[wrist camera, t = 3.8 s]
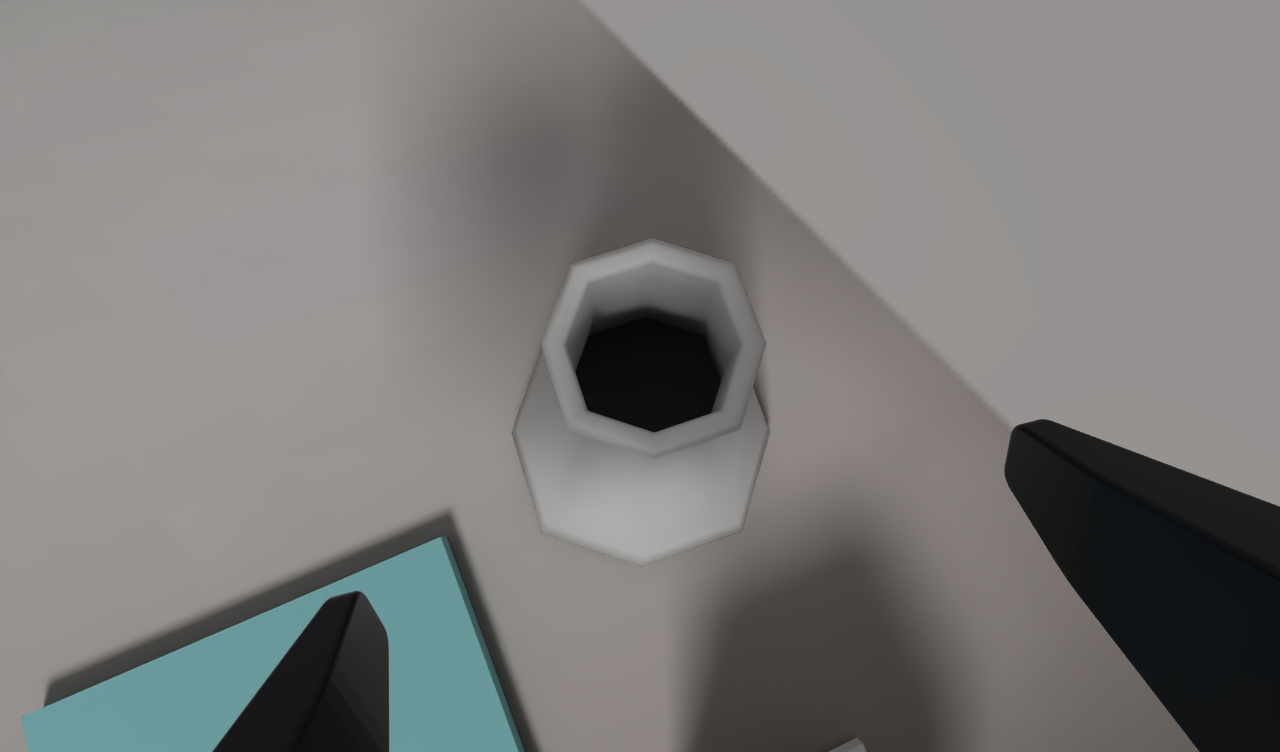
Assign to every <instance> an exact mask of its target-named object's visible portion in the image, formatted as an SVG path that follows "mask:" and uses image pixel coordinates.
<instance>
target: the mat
mask: <svg viewBox="0 0 1280 752" xmlns="http://www.w3.org/2000/svg"><path fill="white" fill-rule="evenodd" d="M353 591H361V592H362V593H364V594H365V595H366V597H367V598H368V600H369V602H370V603H371V605H372V607H373V608H374V610H375V612H376V613H377V615H378V617H379V618H380V620H381V622H382V623H383V625H384V627H385V629H386V632H387V636H388V642H389V752H525V751H524V748H523V745H522V742H521V740H520V737H519V734H518V731H517V729H516V726H515V723H514V720H513V718H512V715H511V712H510V709H509V707H508V704H507V701H506V698H505V696H504V693H503V690H502V687H501V685H500V682H499V679H498V676H497V674H496V671H495V668H494V665H493V663H492V660H491V657H490V654H489V652H488V649H487V646H486V643H485V641H484V638H483V635H482V632H481V630H480V627H479V624H478V621H477V619H476V616H475V613H474V610H473V608H472V605H471V602H470V599H469V597H468V594H467V591H466V589H465V586H464V583H463V580H462V578H461V575H460V572H459V569H458V567H457V564H456V561H455V558H454V556H453V553H452V550H451V547H450V545H449V542H448V539H447V536H444V537H439V538H437V539H434V540H432V541H430V542H427V543H425V544H423V545H420V546H418V547H416V548H413V549H411V550H409V551H406V552H404V553H402V554H399V555H397V556H395V557H392V558H390V559H388V560H385V561H383V562H381V563H378V564H376V565H374V566H371V567H369V568H367V569H364V570H362V571H360V572H357V573H355V574H353V575H350V576H348V577H346V578H343V579H341V580H339V581H337V582H334V583H332V584H330V585H327V586H325V587H323V588H320V589H318V590H316V591H313V592H311V593H309V594H306V595H304V596H302V597H299V598H297V599H295V600H292V601H290V602H288V603H285V604H283V605H281V606H278V607H276V608H274V609H271V610H269V611H267V612H264V613H262V614H260V615H257V616H255V617H253V618H250V619H248V620H246V621H243V622H241V623H239V624H236V625H234V626H232V627H230V628H227V629H225V630H223V631H220V632H218V633H216V634H213V635H211V636H209V637H206V638H204V639H202V640H199V641H197V642H195V643H192V644H190V645H188V646H185V647H183V648H181V649H178V650H176V651H174V652H171V653H169V654H167V655H164V656H162V657H160V658H157V659H155V660H153V661H150V662H148V663H146V664H143V665H141V666H139V667H136V668H134V669H132V670H130V671H127V672H125V673H123V674H120V675H118V676H116V677H113V678H111V679H109V680H106V681H104V682H102V683H99V684H97V685H95V686H92V687H90V688H88V689H85V690H83V691H81V692H78V693H76V694H74V695H71V696H69V697H67V698H64V699H62V700H60V701H57V702H55V703H53V704H50V705H48V706H46V707H43V708H41V709H39V710H36V711H34V712H32V713H29V714H27V715H25V716H23V717H21V720H22V724H23V728H24V733H25V737H26V741H27V746H28V750H29V752H212V751H213V750H214V748H215V747H216V746H217V744H218V743H219V742H220V740H221V739H222V738H223V736H224V735H225V734H226V733H227V731H228V730H229V729H230V727H231V726H232V725H233V723H234V722H235V721H236V719H237V718H238V717H239V715H240V714H241V713H242V711H243V710H244V709H245V707H246V706H247V705H248V703H249V702H250V701H251V699H252V698H253V697H254V695H255V694H256V693H257V691H258V690H259V689H260V687H261V686H262V685H263V683H264V682H265V681H266V679H267V678H268V677H269V675H270V674H271V673H272V671H273V670H274V669H275V667H276V666H277V665H278V663H279V662H280V661H281V659H282V658H283V657H284V655H285V654H286V653H287V651H288V650H289V649H290V647H291V646H292V645H293V643H294V642H295V641H296V639H297V638H298V637H299V635H300V634H301V633H302V631H303V630H304V629H305V627H306V626H307V625H308V623H309V622H310V621H311V619H312V618H313V617H314V615H315V614H316V613H317V611H318V610H319V609H320V607H321V606H322V605H323V604H324V602H325V601H326V600H328V599H329V598H331V597H333V596H337V595H341V594H345V593H349V592H353Z"/></svg>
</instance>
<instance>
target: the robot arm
mask: <svg viewBox="0 0 1280 752" xmlns="http://www.w3.org/2000/svg"><path fill="white" fill-rule="evenodd" d="M1004 471H1005V478H1006V481H1007V484H1008V486H1009V488H1010V489H1011V491H1012V493H1013V494H1014V496H1015V497H1016V499H1017V501H1018V502H1019V504H1020V505H1021V507H1022V509H1023V510H1024V512H1025V513H1026V515H1027V517H1028V518H1029V520H1030V522H1031V523H1032V525H1033V526H1034V528H1035V530H1036V531H1037V533H1038V534H1039V536H1040V538H1041V539H1042V541H1043V542H1044V544H1045V546H1046V547H1047V549H1048V551H1049V552H1050V554H1051V555H1052V557H1053V559H1054V560H1055V562H1056V563H1057V565H1058V566H1059V568H1060V569H1061V571H1062V572H1063V574H1064V575H1065V577H1066V579H1067V580H1068V581H1069V583H1070V584H1071V585H1072V587H1073V588H1074V589H1075V591H1076V592H1077V593H1078V595H1079V596H1080V597H1081V599H1082V600H1083V601H1084V603H1085V604H1086V605H1087V607H1088V608H1089V609H1090V610H1091V612H1092V613H1093V614H1094V616H1095V617H1096V618H1097V619H1098V621H1099V622H1100V623H1101V625H1102V626H1103V627H1104V629H1105V630H1106V631H1107V632H1108V634H1109V635H1110V636H1111V638H1112V639H1113V640H1114V642H1115V643H1116V644H1117V645H1118V647H1119V648H1120V649H1121V651H1122V652H1123V653H1124V654H1125V656H1126V657H1127V658H1128V660H1129V661H1130V662H1131V664H1132V665H1133V666H1134V667H1135V669H1136V670H1137V671H1138V673H1139V674H1140V675H1141V677H1142V678H1143V679H1144V680H1145V682H1146V683H1147V684H1148V686H1149V687H1150V688H1151V689H1152V691H1153V692H1154V693H1155V695H1156V696H1157V697H1158V699H1159V700H1160V701H1161V702H1162V704H1163V705H1164V706H1165V708H1166V709H1167V710H1168V712H1169V713H1170V714H1171V715H1172V717H1173V718H1174V719H1175V721H1176V722H1177V723H1178V724H1179V726H1180V727H1181V728H1182V730H1183V731H1184V732H1185V734H1186V735H1187V736H1188V737H1189V739H1190V740H1191V741H1192V743H1193V744H1194V745H1195V747H1196V748H1197V749H1198V750H1199V752H1280V507H1279V506H1277V505H1274V504H1271V503H1269V502H1266V501H1263V500H1261V499H1258V498H1255V497H1253V496H1250V495H1247V494H1245V493H1241V492H1239V491H1237V490H1234V489H1231V488H1229V487H1226V486H1223V485H1221V484H1218V483H1215V482H1213V481H1210V480H1207V479H1205V478H1202V477H1199V476H1197V475H1194V474H1191V473H1189V472H1186V471H1184V470H1181V469H1178V468H1176V467H1173V466H1170V465H1168V464H1165V463H1162V462H1160V461H1156V460H1154V459H1151V458H1149V457H1146V456H1144V455H1141V454H1138V453H1136V452H1133V451H1130V450H1127V449H1125V448H1122V447H1120V446H1117V445H1114V444H1112V443H1109V442H1106V441H1103V440H1101V439H1098V438H1096V437H1093V436H1090V435H1087V434H1085V433H1082V432H1080V431H1077V430H1074V429H1072V428H1069V427H1066V426H1064V425H1061V424H1058V423H1055V422H1053V421H1050V420H1045V419H1041V420H1036V421H1032V422H1028V423H1024V424H1020V425H1018V426H1016V427H1015V428H1014V429H1013V431H1012V433H1011V437H1010V442H1009V447H1008V452H1007V457H1006V463H1005V469H1004ZM212 752H389V642H388V636H387V632H386V629H385V627H384V625H383V623H382V622H381V620H380V618H379V617H378V615H377V613H376V612H375V610H374V608H373V607H372V605H371V603H370V602H369V600H368V598H367V597H366V595H365V594H364V593H362V592H361V591H353V592H349V593H345V594H341V595H337V596H333V597H331V598H329V599H328V600H326V601H325V602H324V604H323V605H322V606H321V607H320V609H319V610H318V611H317V613H316V614H315V615H314V617H313V618H312V619H311V621H310V622H309V623H308V625H307V626H306V627H305V629H304V630H303V631H302V633H301V634H300V635H299V637H298V638H297V639H296V641H295V642H294V643H293V645H292V646H291V647H290V649H289V650H288V651H287V653H286V654H285V655H284V657H283V658H282V659H281V661H280V662H279V663H278V665H277V666H276V667H275V669H274V670H273V671H272V673H271V674H270V675H269V677H268V678H267V679H266V681H265V682H264V683H263V685H262V686H261V687H260V689H259V690H258V691H257V693H256V694H255V695H254V697H253V698H252V699H251V701H250V702H249V703H248V705H247V706H246V707H245V709H244V710H243V711H242V713H241V714H240V715H239V717H238V718H237V719H236V721H235V722H234V723H233V725H232V726H231V727H230V729H229V730H228V731H227V733H226V734H225V735H224V736H223V738H222V739H221V740H220V742H219V743H218V744H217V746H216V747H215V748H214V750H213V751H212Z"/></svg>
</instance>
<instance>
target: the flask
mask: <svg viewBox="0 0 1280 752" xmlns="http://www.w3.org/2000/svg"><path fill="white" fill-rule="evenodd" d="M765 346H766V342H765V339H764V336H763V334H762V331H761V329H760V326H759V324H758V321H757V318H756V316H755V313H754V311H753V308H752V306H751V303H750V301H749V298H748V295H747V293H746V290H745V288H744V285H743V283H742V280H741V277H740V275H739V272H738V270H737V267H736V265H735V263H731V262H728V261H725V260H722V259H718V258H715V257H712V256H709V255H706V254H702V253H699V252H696V251H693V250H690V249H686V248H683V247H680V246H677V245H674V244H670V243H667V242H664V241H661V240H657V239H654V238H651V239H648V240H644V241H641V242H638V243H635V244H632V245H628V246H625V247H622V248H619V249H616V250H612V251H609V252H606V253H603V254H600V255H596V256H593V257H590V258H587V259H584V260H580V261H577V262H574V263H571V264H570V265H569V268H568V271H567V274H566V276H565V279H564V282H563V284H562V287H561V290H560V292H559V295H558V298H557V301H556V303H555V306H554V309H553V311H552V314H551V317H550V319H549V322H548V325H547V328H546V330H545V333H544V336H543V338H542V341H541V348H542V352H541V354H540V357H539V360H538V363H537V365H536V368H535V371H534V373H533V376H532V379H531V382H530V384H529V387H528V390H527V392H526V395H525V398H524V401H523V403H522V406H521V409H520V411H519V414H518V417H517V420H516V422H515V425H514V428H513V430H512V436H513V439H514V443H515V446H516V449H517V452H518V456H519V459H520V462H521V466H522V469H523V472H524V476H525V479H526V482H527V485H528V489H529V492H530V495H531V499H532V502H533V505H534V509H535V512H536V515H537V518H538V522H539V525H540V528H541V532H542V533H545V534H548V535H551V536H554V537H557V538H560V539H563V540H566V541H568V542H571V543H574V544H577V545H580V546H583V547H586V548H589V549H592V550H595V551H598V552H601V553H604V554H607V555H610V556H613V557H616V558H619V559H622V560H625V561H628V562H631V563H634V564H637V565H640V566H645V565H647V564H650V563H653V562H656V561H659V560H661V559H664V558H667V557H670V556H673V555H676V554H678V553H681V552H684V551H687V550H690V549H693V548H695V547H698V546H701V545H704V544H707V543H709V542H712V541H715V540H718V539H721V538H724V537H726V536H729V535H732V534H735V533H738V532H741V531H742V528H743V525H744V521H745V518H746V514H747V511H748V507H749V504H750V500H751V497H752V493H753V490H754V486H755V483H756V479H757V476H758V472H759V469H760V465H761V462H762V458H763V455H764V451H765V448H766V444H767V441H768V437H769V434H770V430H769V428H768V425H767V422H766V420H765V417H764V415H763V412H762V409H761V407H760V404H759V401H758V399H757V396H756V394H755V391H754V388H753V386H754V383H755V379H756V376H757V373H758V369H759V366H760V363H761V359H762V356H763V352H764V349H765Z"/></svg>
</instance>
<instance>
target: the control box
mask: <svg viewBox="0 0 1280 752" xmlns="http://www.w3.org/2000/svg"><path fill="white" fill-rule="evenodd" d="M828 752H867V751H866V749H865V747H864V744H863V743H862V742H861V741H860V740H859V739H858V738H855V739H853V740H851V741H849V742H847V743H845V744H843V745H841V746H839V747H836V748H834V749H832V750H830V751H828Z"/></svg>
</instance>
